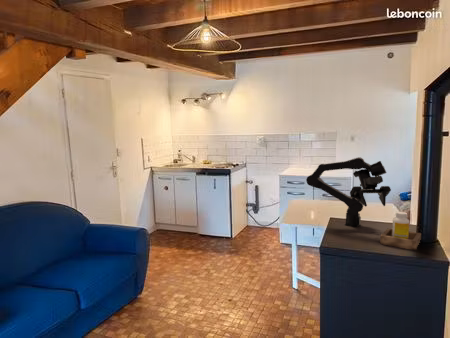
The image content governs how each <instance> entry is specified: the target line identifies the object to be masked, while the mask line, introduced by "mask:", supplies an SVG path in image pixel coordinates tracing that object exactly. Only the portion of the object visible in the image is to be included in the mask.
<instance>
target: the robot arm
mask: <svg viewBox="0 0 450 338" xmlns="http://www.w3.org/2000/svg"><path fill="white" fill-rule="evenodd" d="M346 169H347V170H355V171H354V172H353V176H354V177H355V178H358V179H359V182H360V184H359V185H360V186H356V185H355V186H352V187H351V190H350V191H349V195H348V194H346V193H344V192H342V191H340V190H339V189H337V188H336V187H333V186H332V185H330V184H328V183H327V182H325V181H324V180H323V179H322V178H321V176H322V175H323V173H324V172H326V171H327V172H328V171H338V170H346ZM385 174H387V170H386V169H385V166H384V165H383V162H382V161H381V160H379V161H377V162H375V163H372V164H370V163H368V162H366V161H365V159H364V158H362V157H354V158H352V159H348V160H345V161H337V162H329V163H321V164H319V165H318V166H317V168H316V169H315V170H314V172H313V173H312V174H310V175H308V176H307V177H306V183H307V184H306V185H308V186H310V187H313V188H315V189H320V190H321V191H324V192H325V193H327V194H328V195H330V196H332V197H334V198H335V199H337V200H339V201H341V202H342V203H344V204H345V205H346V207H347V209H346V213H345V223H344V226H348V227H349V226H350V227H355V228H357V227H359V226H360V225H361V222H362V221H361V219H362V217H361V216H360V215H361V214H360V212H362V211H363V210H364V207H367V206H368V204H367V201H366V198H365V196H364V194H377V196H378V198H379V201H380V202H381V204H382V206H383V207H385V206H386V204H387V203H386V199H387V196H388V195H389V194H390V192H391V191H392V188H391V187H390V186H389V185H381V186H380V188H377V187H378V185H379V184H381V183H383V182H384V178H383V176H382V175H385Z"/></svg>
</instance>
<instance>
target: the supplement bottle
mask: <svg viewBox="0 0 450 338" xmlns="http://www.w3.org/2000/svg"><path fill="white" fill-rule="evenodd" d="M407 217H408V213H407V212H405V211H395V217H393V219H392V225H391V227H392V228H391V229H392V237H398V238H404V239H408V238H409V232H410V219H409V218H407Z"/></svg>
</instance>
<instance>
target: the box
mask: <svg viewBox="0 0 450 338" xmlns="http://www.w3.org/2000/svg"><path fill="white" fill-rule="evenodd" d="M420 240H422V233H421V232H415V231H414V232H413V231H409V238H408V239H404V238H398V237H392V228H386V229H385V230H384V231H383V233H381V234H380V245H384V246H390V247H396V248H401V249H406V250H412V251H417V249H418V248H419V246H420V244H421V242H420ZM419 243H420V244H419ZM418 245H419V246H418Z"/></svg>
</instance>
